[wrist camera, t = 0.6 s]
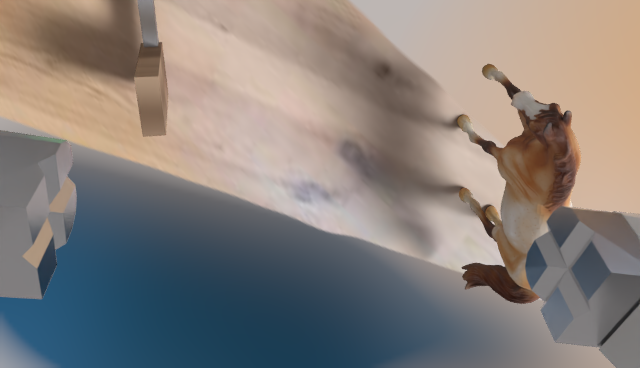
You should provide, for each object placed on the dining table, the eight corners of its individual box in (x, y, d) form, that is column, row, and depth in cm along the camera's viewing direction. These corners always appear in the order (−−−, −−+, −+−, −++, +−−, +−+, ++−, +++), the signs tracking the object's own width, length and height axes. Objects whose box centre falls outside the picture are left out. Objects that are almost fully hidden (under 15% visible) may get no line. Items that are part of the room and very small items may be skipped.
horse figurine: (440, 39, 57) (550, 118, 40) (508, 23, 58) (646, 95, 41) (445, 261, 74) (525, 385, 57) (499, 247, 75) (593, 365, 58)
